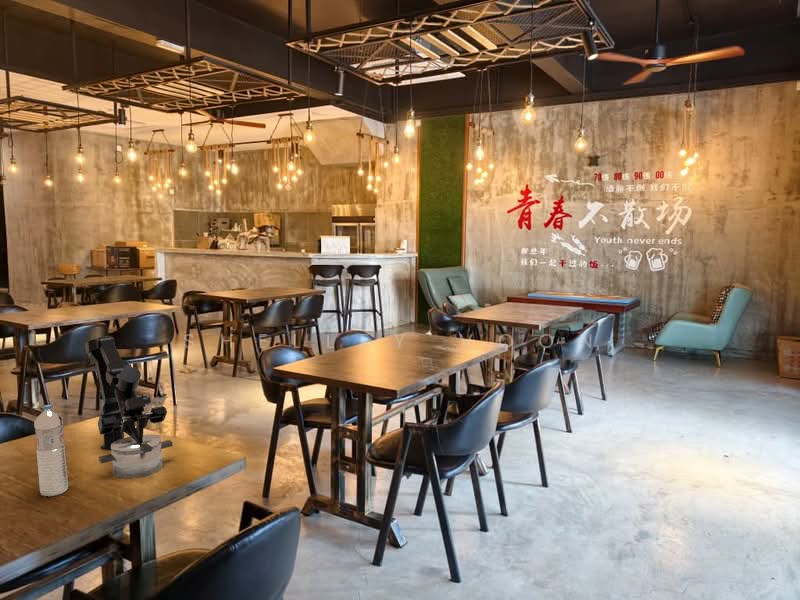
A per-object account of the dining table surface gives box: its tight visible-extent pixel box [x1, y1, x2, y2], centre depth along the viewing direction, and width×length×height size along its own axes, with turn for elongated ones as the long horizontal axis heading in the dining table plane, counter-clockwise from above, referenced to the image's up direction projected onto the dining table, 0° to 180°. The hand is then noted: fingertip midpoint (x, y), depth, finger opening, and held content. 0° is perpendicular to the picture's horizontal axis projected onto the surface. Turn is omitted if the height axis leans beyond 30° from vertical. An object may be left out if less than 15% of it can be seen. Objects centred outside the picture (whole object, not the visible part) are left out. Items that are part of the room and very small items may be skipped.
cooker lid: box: [110, 434, 162, 453], centre depth 173 cm, size 18×14×2 cm
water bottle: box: [33, 404, 69, 497], centre depth 159 cm, size 7×7×25 cm
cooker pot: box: [98, 439, 174, 479], centre depth 176 cm, size 15×21×7 cm
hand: (140, 443), depth 171 cm, fingers closed, pressing on cooker lid
